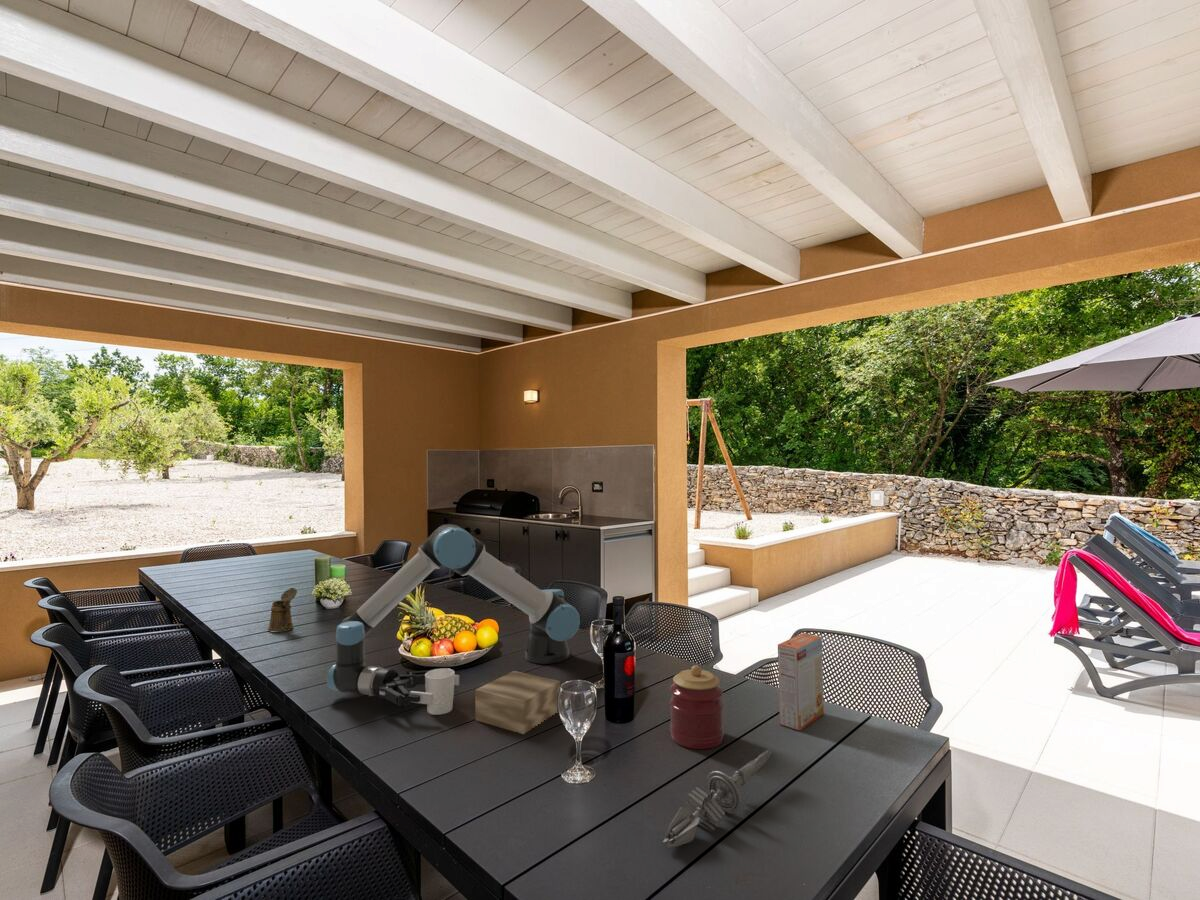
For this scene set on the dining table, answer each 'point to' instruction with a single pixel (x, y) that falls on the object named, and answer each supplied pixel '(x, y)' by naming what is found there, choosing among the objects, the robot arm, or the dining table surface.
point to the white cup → (440, 690)
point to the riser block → (516, 701)
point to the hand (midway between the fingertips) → (446, 689)
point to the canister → (696, 709)
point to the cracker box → (800, 681)
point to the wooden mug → (282, 612)
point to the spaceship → (712, 802)
